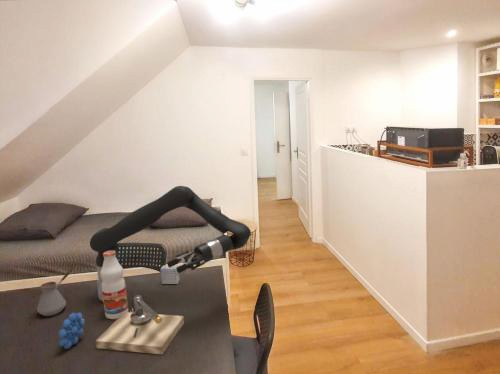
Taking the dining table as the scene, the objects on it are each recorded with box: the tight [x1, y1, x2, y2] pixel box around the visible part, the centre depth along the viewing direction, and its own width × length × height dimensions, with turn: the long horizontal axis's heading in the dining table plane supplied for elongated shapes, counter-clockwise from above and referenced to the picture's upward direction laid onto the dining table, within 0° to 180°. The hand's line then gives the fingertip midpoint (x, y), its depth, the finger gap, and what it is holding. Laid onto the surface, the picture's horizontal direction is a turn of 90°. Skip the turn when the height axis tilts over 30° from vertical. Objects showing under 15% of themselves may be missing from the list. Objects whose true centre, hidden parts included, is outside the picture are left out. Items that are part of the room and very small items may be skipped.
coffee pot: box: [36, 266, 76, 317], centre depth 163 cm, size 21×12×15 cm, turn 162°
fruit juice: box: [100, 250, 129, 320], centre depth 152 cm, size 9×9×28 cm
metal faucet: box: [130, 294, 162, 325], centre depth 136 cm, size 23×8×9 cm, turn 38°
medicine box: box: [160, 264, 180, 285], centre depth 181 cm, size 8×4×9 cm, turn 84°
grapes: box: [58, 312, 85, 350], centre depth 134 cm, size 12×7×12 cm, turn 161°
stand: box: [95, 311, 185, 355], centre depth 138 cm, size 26×20×3 cm
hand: (172, 267), depth 136 cm, fingers open, 8 cm apart
